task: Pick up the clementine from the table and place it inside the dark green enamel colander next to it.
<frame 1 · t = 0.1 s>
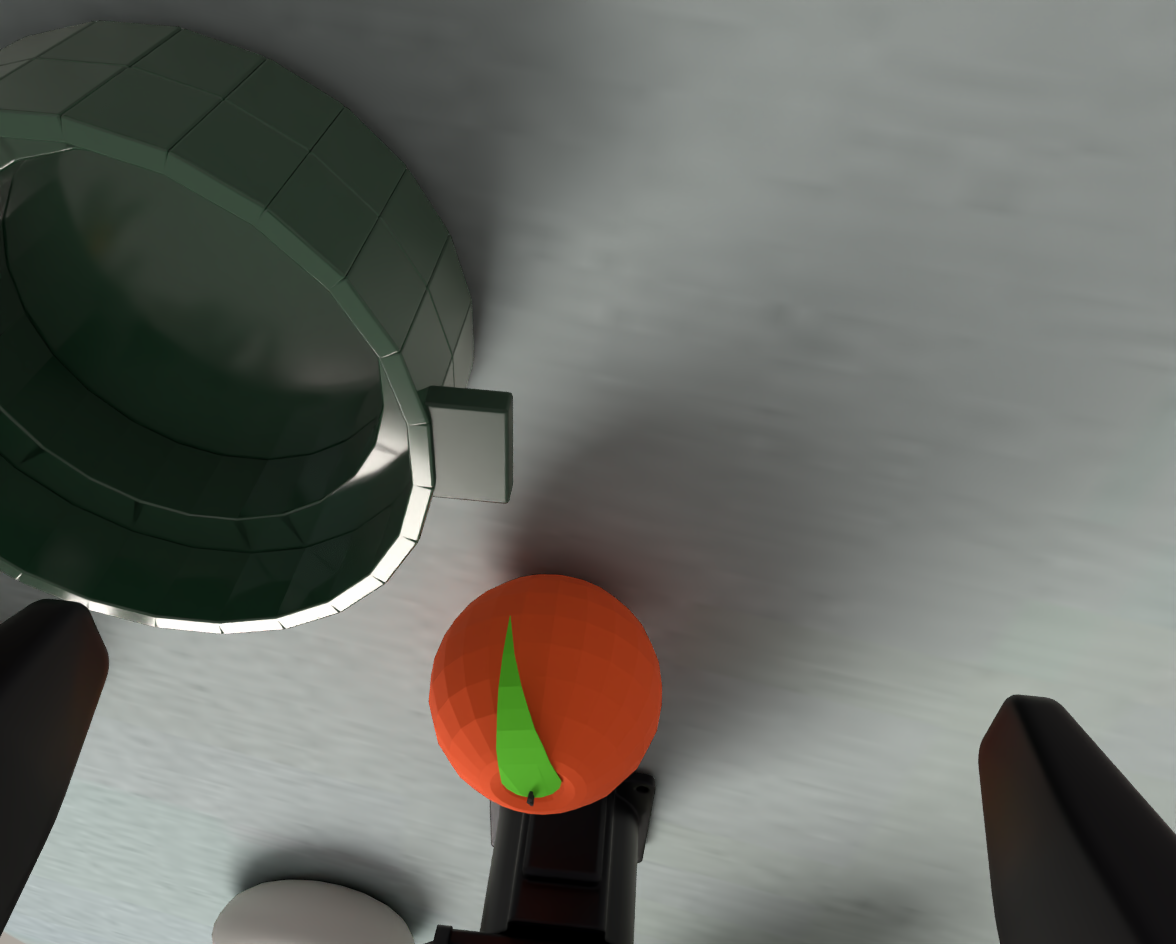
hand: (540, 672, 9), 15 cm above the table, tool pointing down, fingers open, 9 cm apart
donut: (326, 910, 48), on the table
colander: (217, 296, 24), on the table
clementine: (556, 587, 31), on the table
colander handles: (129, 414, 20), point 5 cm above the table
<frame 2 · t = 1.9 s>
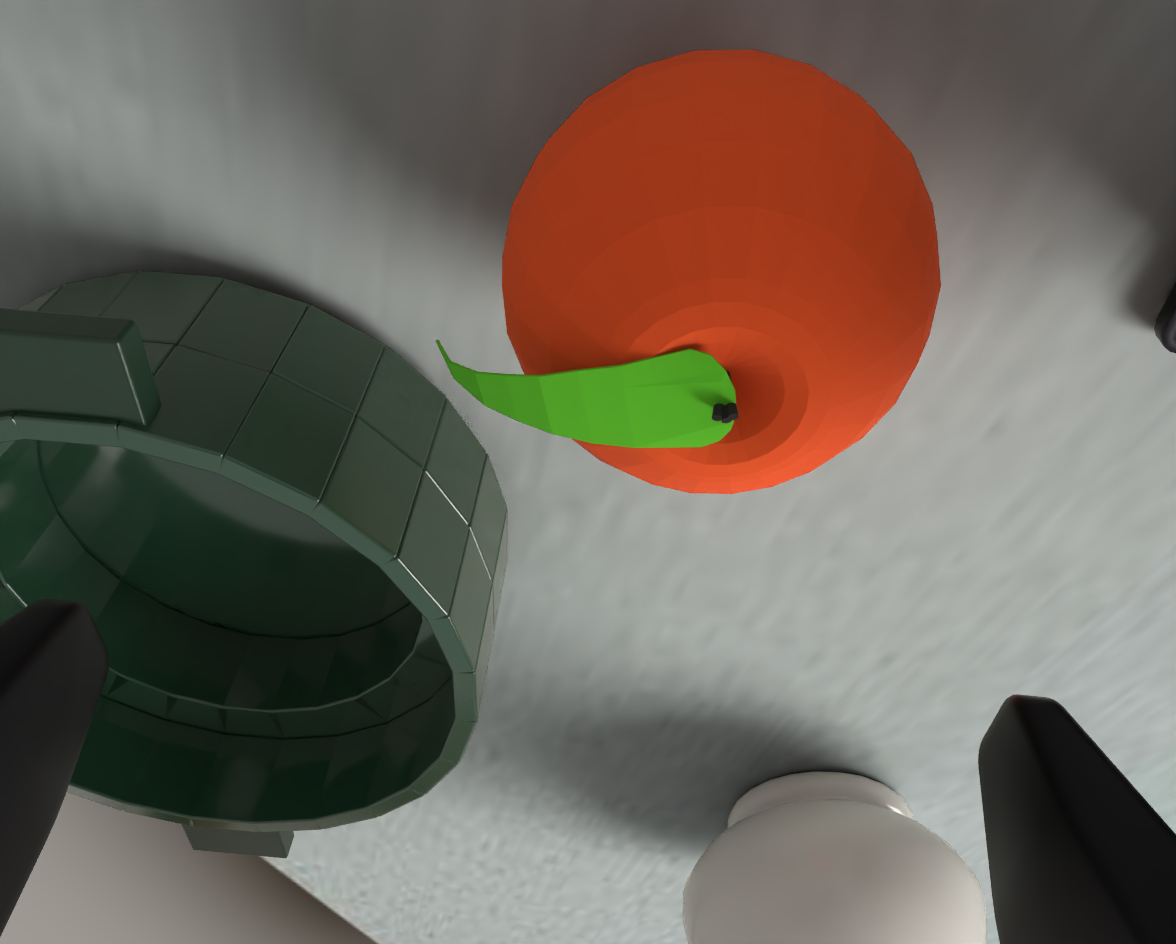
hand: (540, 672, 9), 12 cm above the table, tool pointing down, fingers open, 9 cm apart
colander: (250, 496, 24), on the table
clementine: (680, 190, 18), on the table
flower vase: (801, 820, 33), on the table
colander handles: (171, 652, 20), point 5 cm above the table
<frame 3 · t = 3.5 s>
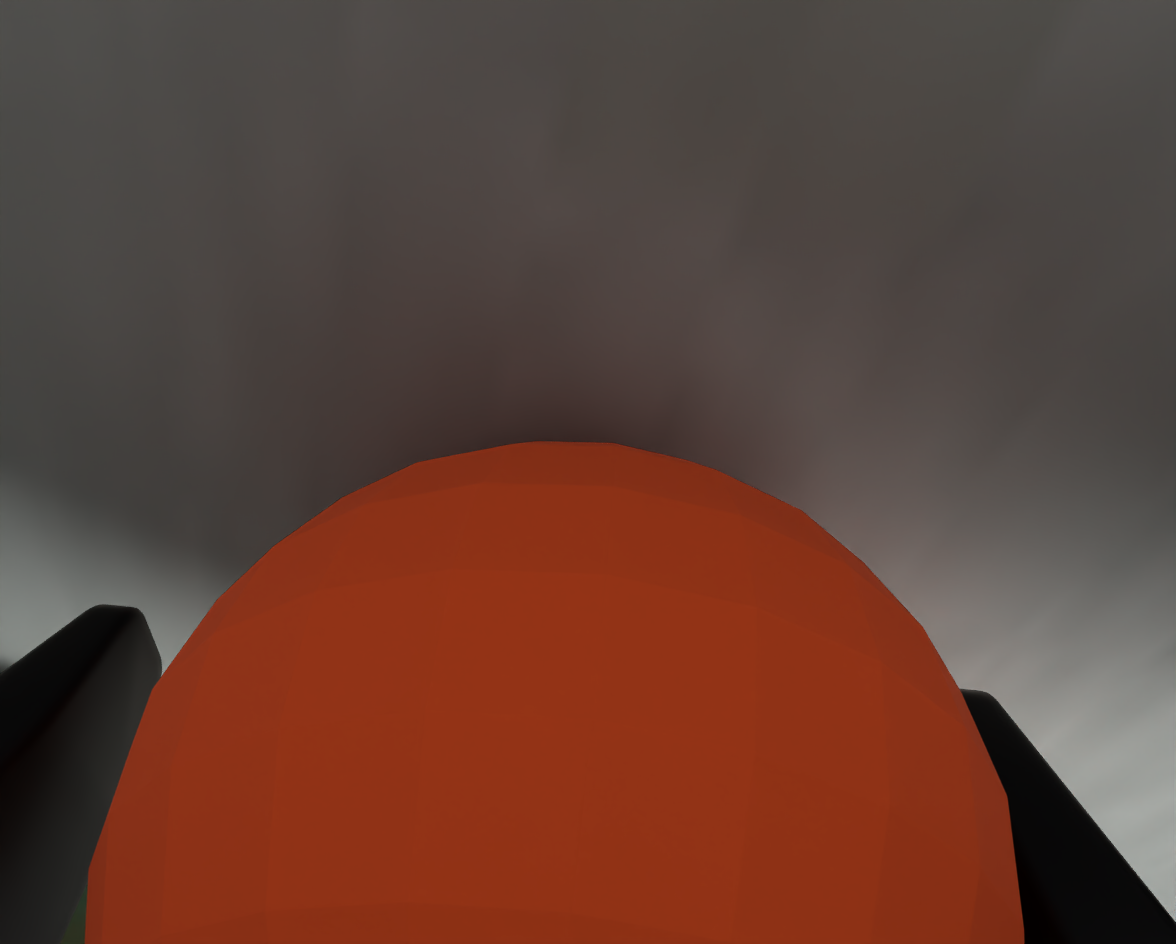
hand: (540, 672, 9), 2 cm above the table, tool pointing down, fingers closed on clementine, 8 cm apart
clementine: (548, 546, 11), on the table, touching gripper
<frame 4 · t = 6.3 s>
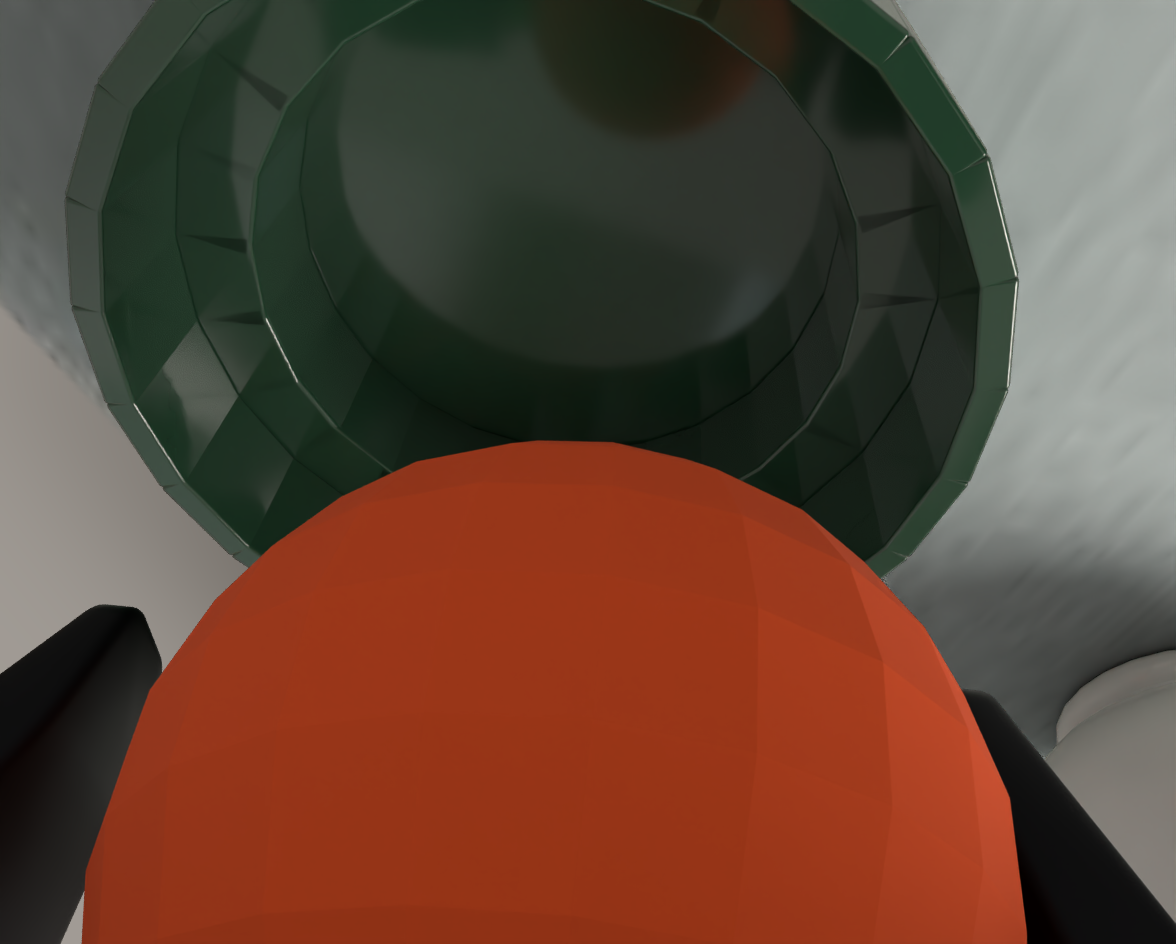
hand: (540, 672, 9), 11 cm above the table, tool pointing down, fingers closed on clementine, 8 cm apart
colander: (568, 228, 18), on the table
clementine: (548, 546, 11), point 9 cm above the table, touching gripper
flower vase: (1145, 719, 27), on the table
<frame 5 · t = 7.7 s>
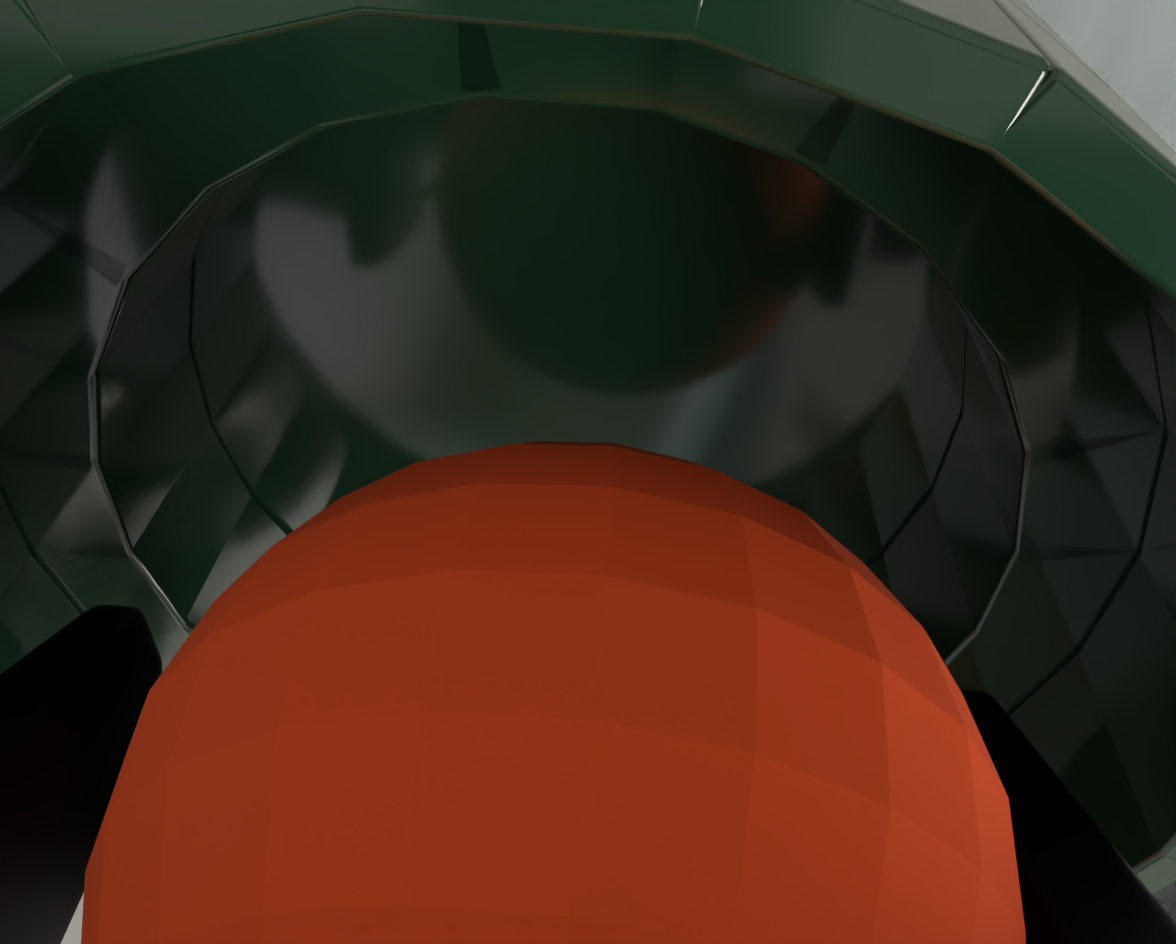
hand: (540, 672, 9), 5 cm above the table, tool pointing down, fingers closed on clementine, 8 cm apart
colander: (573, 394, 13), on the table
clementine: (547, 546, 11), point 3 cm above the table, touching gripper
when the fingers open (2 cm above the table, at t = 9.2 s): clementine stays where it is, resting on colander.
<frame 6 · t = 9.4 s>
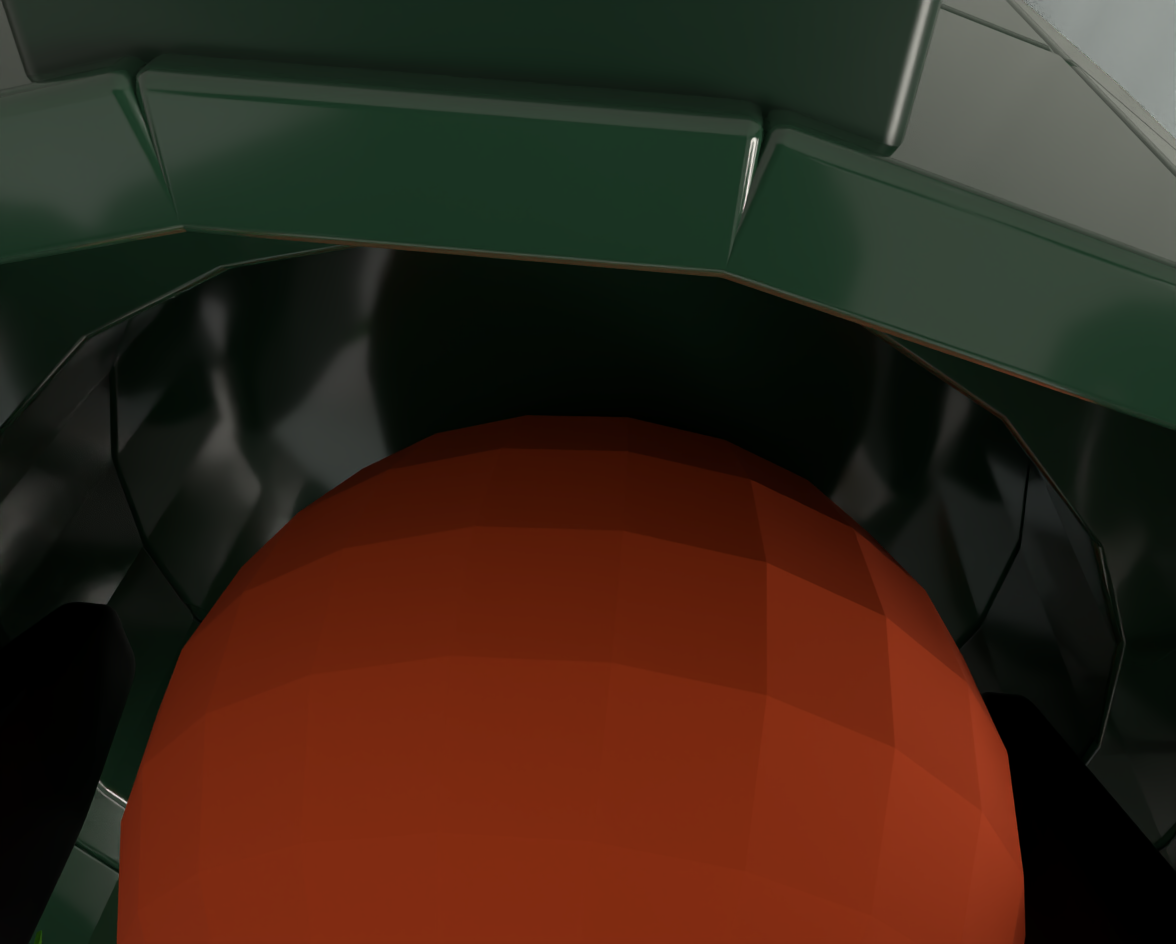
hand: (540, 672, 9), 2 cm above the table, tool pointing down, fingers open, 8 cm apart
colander: (563, 512, 11), on the table
clementine: (558, 525, 11), resting on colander
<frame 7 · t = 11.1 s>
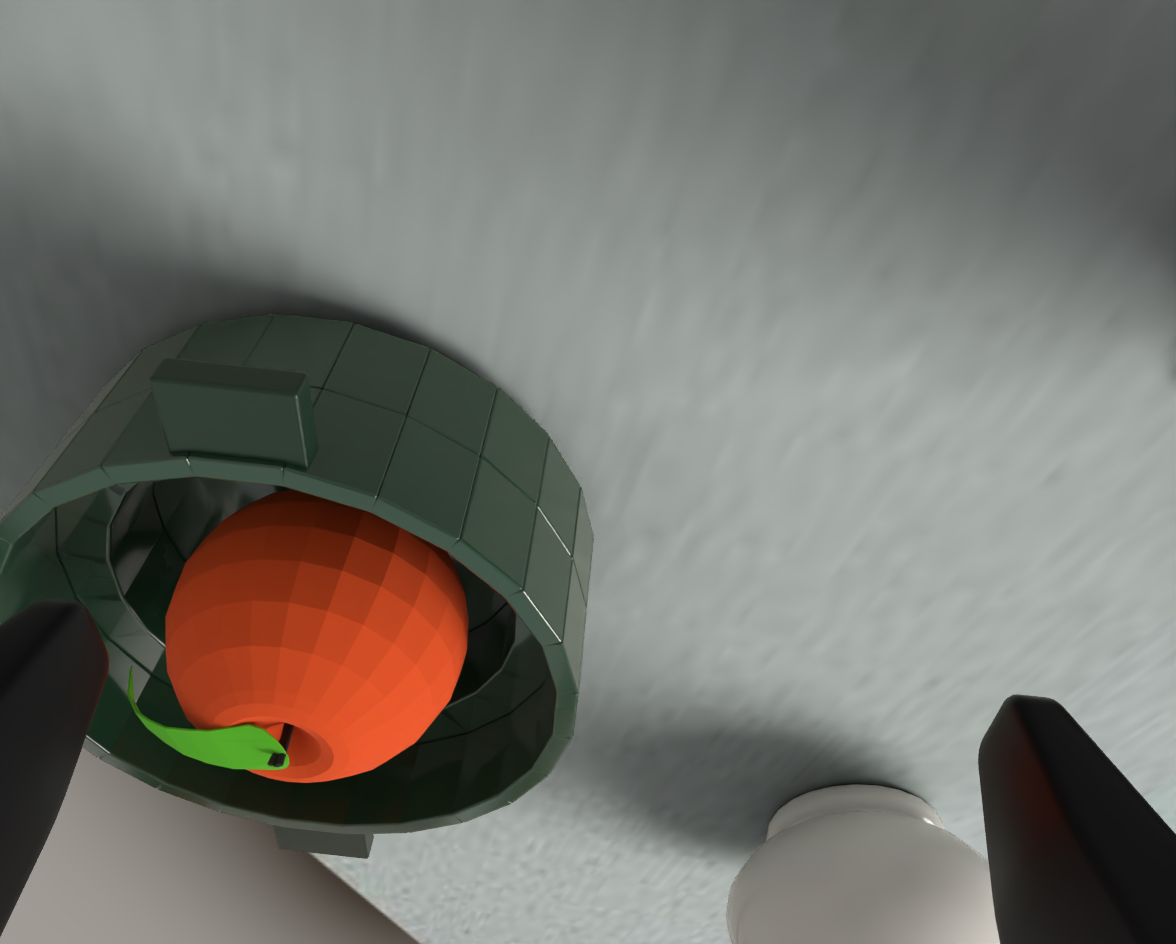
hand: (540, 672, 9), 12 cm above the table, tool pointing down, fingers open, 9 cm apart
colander: (347, 518, 26), on the table
clementine: (343, 524, 25), resting on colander
flower vase: (836, 829, 35), on the table
colander handles: (290, 667, 22), point 5 cm above the table
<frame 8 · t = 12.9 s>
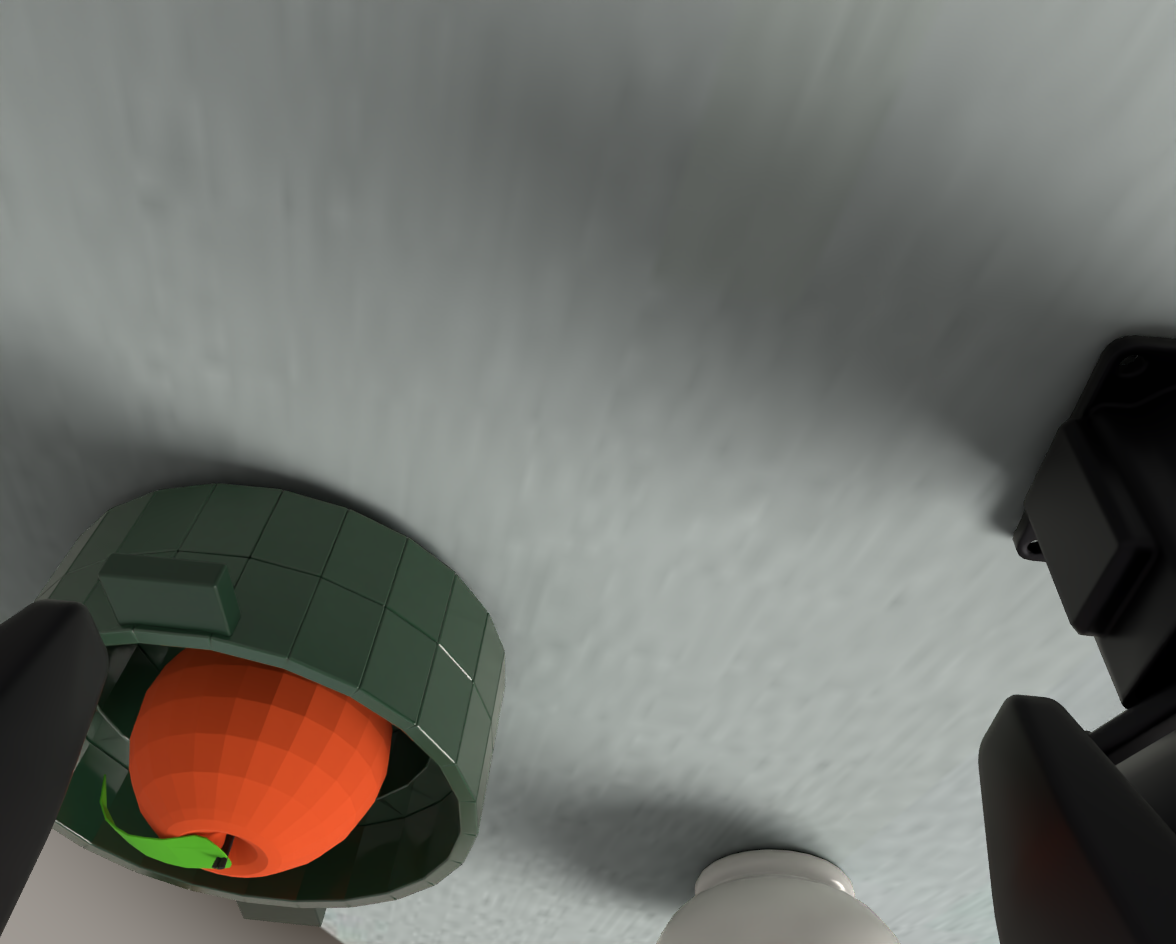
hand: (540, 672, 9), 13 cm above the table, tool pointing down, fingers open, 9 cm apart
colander: (295, 633, 29), on the table
clementine: (290, 639, 29), resting on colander
flower vase: (759, 886, 38), on the table
colander handles: (236, 776, 26), point 5 cm above the table
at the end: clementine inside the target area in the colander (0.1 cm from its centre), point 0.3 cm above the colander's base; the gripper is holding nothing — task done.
